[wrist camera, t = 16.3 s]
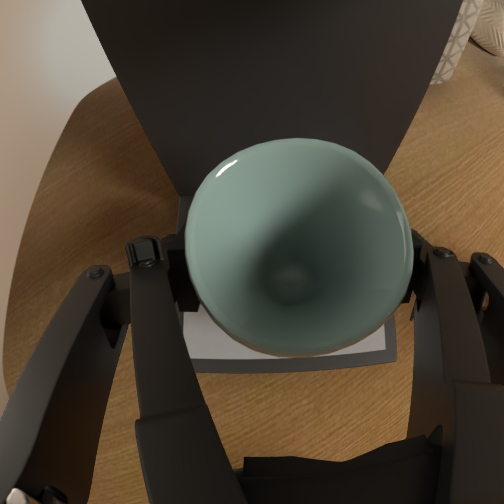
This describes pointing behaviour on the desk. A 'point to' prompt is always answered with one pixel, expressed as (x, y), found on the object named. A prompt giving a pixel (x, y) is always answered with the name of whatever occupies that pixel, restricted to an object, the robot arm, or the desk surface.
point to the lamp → (490, 27)
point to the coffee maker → (271, 104)
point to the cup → (298, 247)
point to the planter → (457, 40)
